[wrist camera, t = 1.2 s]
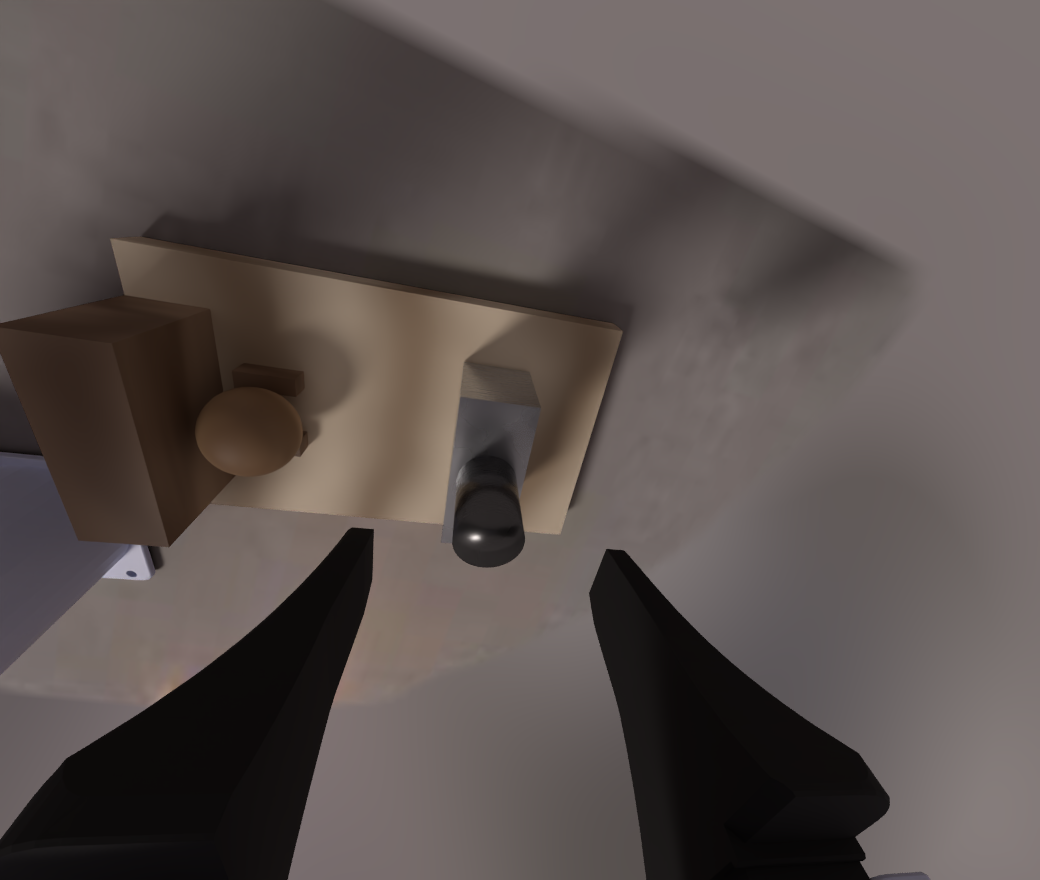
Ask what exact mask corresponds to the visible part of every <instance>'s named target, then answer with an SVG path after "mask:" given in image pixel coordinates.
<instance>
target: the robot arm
mask: <svg viewBox="0 0 1040 880" xmlns="http://www.w3.org/2000/svg"><path fill="white" fill-rule="evenodd" d="M373 538H374V529H364V528H350V529H349V530H348V531H347V532H346V533H345V535H344V536H343V537H342V539H341V540H340V541H339V542H338V544H337V545H336V546H335V547H334V548H333V550H332V551H331V552H330V553H329V554H328V556H327V557H326V558H325V559H324V560H323V561H322V562H321V564H320V565H319V566H318V567H317V568H316V569H315V570H314V571H313V572H312V573H311V574H310V575H309V577H308V578H307V579H306V580H305V581H304V582H303V583H302V584H301V585H300V586H299V587H298V588H297V589H296V590H295V591H294V592H293V593H292V594H291V595H290V596H289V597H288V598H287V599H286V600H285V601H284V602H283V603H282V604H281V605H280V606H279V607H278V608H276V609H275V610H274V611H273V612H272V613H271V614H270V615H269V616H268V617H267V618H266V619H264V620H263V621H262V622H261V623H260V624H259V625H258V626H257V627H255V628H254V629H253V630H252V631H251V632H249V633H248V634H247V635H246V636H245V637H244V638H242V639H241V640H240V641H239V642H237V643H236V644H235V645H234V646H232V647H231V648H230V649H229V650H227V651H226V652H225V653H224V654H222V655H221V656H220V657H218V658H217V659H216V660H215V661H213V662H212V663H211V664H209V665H208V666H207V667H205V668H204V669H203V670H201V671H200V672H199V673H197V674H196V675H195V676H193V677H192V678H190V679H189V680H187V681H186V682H185V683H183V684H182V685H180V686H179V687H177V688H176V689H174V690H173V691H172V692H170V693H169V694H167V695H166V696H164V697H163V698H161V699H160V700H159V701H157V702H156V703H154V704H153V705H151V706H150V707H148V708H147V709H145V710H144V711H142V712H141V713H139V714H138V715H136V716H135V717H133V718H131V719H130V720H128V721H127V722H125V723H123V724H122V725H120V726H119V727H117V728H115V729H114V730H112V731H111V732H109V733H107V734H106V735H104V736H102V737H101V738H99V739H98V740H96V741H94V742H93V743H91V744H90V745H88V746H86V747H85V748H83V749H81V750H80V751H78V752H77V753H75V754H73V755H71V756H70V757H68V758H67V759H66V760H65V761H64V762H63V763H62V764H61V766H60V767H59V768H58V769H57V770H56V771H55V772H54V774H53V775H52V776H51V777H50V778H49V779H48V780H47V781H46V782H45V783H44V784H43V786H42V787H41V788H40V789H39V790H38V792H37V793H36V794H35V795H34V796H33V798H32V799H31V800H30V801H29V803H28V804H27V806H26V807H25V808H24V809H23V811H22V812H21V813H20V814H19V816H18V817H17V818H16V820H15V821H14V822H13V824H12V825H11V826H10V828H9V829H8V830H7V831H6V833H5V834H4V835H3V837H2V838H1V839H0V880H287V879H288V875H289V871H290V867H291V863H292V858H293V854H294V850H295V846H296V842H297V838H298V833H299V829H300V825H301V821H302V817H303V813H304V809H305V805H306V801H307V797H308V793H309V789H310V785H311V781H312V777H313V773H314V769H315V765H316V761H317V758H318V754H319V750H320V746H321V742H322V739H323V735H324V731H325V727H326V723H327V720H328V716H329V712H330V709H331V706H332V703H333V699H334V696H335V693H336V690H337V687H338V685H339V682H340V679H341V676H342V673H343V671H344V668H345V665H346V662H347V660H348V657H349V654H350V651H351V648H352V646H353V643H354V640H355V637H356V635H357V632H358V629H359V626H360V623H361V620H362V618H363V615H364V611H365V607H366V603H367V599H368V595H369V591H370V587H371V582H372V571H373ZM154 574H155V568H154V565H153V562H152V559H151V555H150V552H149V549H148V546H147V545H133V544H119V543H105V542H91V541H78V539H77V536H76V534H75V531H74V529H73V527H72V524H71V522H70V519H69V517H68V515H67V512H66V510H65V507H64V505H63V503H62V500H61V498H60V495H59V493H58V491H57V488H56V486H55V483H54V481H53V479H52V476H51V474H50V471H49V469H48V467H47V464H46V462H45V459H44V457H43V456H38V455H28V454H17V453H7V452H0V675H1V674H2V673H3V672H4V671H5V670H6V669H7V668H8V667H9V666H10V665H11V664H12V663H13V662H14V661H16V660H17V659H18V658H19V657H20V656H21V655H22V654H23V653H24V652H25V651H26V650H27V649H28V648H29V647H30V646H31V645H32V644H33V643H34V642H35V641H36V640H37V639H38V638H39V637H40V636H41V635H42V634H44V633H45V632H46V631H47V630H48V629H49V628H50V627H51V626H52V625H53V624H54V623H55V622H56V621H57V620H58V619H59V618H60V617H61V616H62V615H63V614H64V613H65V612H66V611H67V610H68V609H69V608H70V607H72V606H73V605H74V604H75V603H76V602H77V601H78V600H79V599H80V598H81V597H82V596H83V595H84V594H85V593H86V592H87V591H88V590H89V589H90V588H91V587H92V586H93V585H94V584H95V583H96V582H97V581H98V580H100V579H101V578H115V579H132V580H148V579H150V578H151V577H152V576H153V575H154ZM589 595H590V602H591V609H592V615H593V620H594V625H595V628H596V633H597V636H598V640H599V643H600V647H601V650H602V653H603V657H604V660H605V663H606V666H607V670H608V674H609V677H610V680H611V683H612V687H613V690H614V694H615V697H616V701H617V705H618V708H619V713H620V717H621V722H622V727H623V732H624V738H625V742H626V747H627V753H628V759H629V764H630V770H631V775H632V781H633V787H634V793H635V800H636V807H637V813H638V820H639V826H640V833H641V840H642V849H643V857H644V864H645V872H646V880H930V878H929V877H928V876H927V875H926V874H924V873H922V872H913V873H898V874H885V875H879V876H876V877H873V878H869V877H868V875H867V873H866V872H865V870H864V868H863V867H862V865H861V863H860V861H863V860H865V859H866V857H865V853H864V851H863V849H862V848H861V846H860V844H859V843H858V841H857V840H856V838H855V837H856V836H857V835H858V834H860V833H861V832H862V831H864V830H865V829H867V828H868V827H869V826H871V825H872V824H874V823H875V822H876V821H878V820H879V819H880V818H881V817H882V816H883V815H885V814H886V812H887V811H888V809H889V806H890V798H889V796H888V794H887V793H886V792H885V790H884V789H883V787H882V786H881V784H880V783H879V782H878V780H877V779H876V777H875V776H874V774H873V773H872V772H871V770H870V769H869V767H868V766H867V765H866V763H865V762H864V760H863V759H862V757H861V756H860V755H859V753H857V752H856V751H854V750H853V749H851V748H849V747H848V746H846V745H845V744H843V743H842V742H840V741H838V740H837V739H835V738H834V737H832V736H830V735H829V734H827V733H826V732H824V731H823V730H821V729H820V728H818V727H816V726H815V725H813V724H812V723H810V722H809V721H807V720H806V719H804V718H803V717H802V716H800V715H799V714H797V713H796V712H795V711H793V710H792V709H790V708H789V707H788V706H786V705H785V704H783V703H782V702H781V701H779V700H778V699H777V698H775V697H774V696H772V695H771V694H770V693H768V692H767V691H766V690H765V689H763V688H762V687H761V686H760V685H758V684H757V683H756V682H755V681H753V680H752V679H751V678H749V677H748V676H747V675H746V674H744V673H743V672H742V671H741V670H740V669H738V668H737V667H736V666H735V665H734V664H732V663H731V662H730V661H729V660H728V659H727V658H726V657H724V656H723V655H722V654H721V653H720V652H719V651H718V650H717V649H716V648H715V647H713V646H712V645H711V644H710V643H709V642H708V641H707V640H706V639H705V638H704V637H703V636H702V635H700V633H698V631H697V630H696V629H695V628H694V627H693V626H692V625H691V624H690V623H689V622H688V621H687V620H686V619H685V618H684V617H683V616H682V615H681V614H680V613H679V612H678V611H677V610H676V609H675V608H674V607H673V605H672V604H671V603H670V602H669V601H668V600H667V599H666V598H665V597H664V595H662V594H661V592H660V591H659V590H658V589H657V588H656V586H655V585H654V584H653V583H652V582H651V581H650V580H649V578H648V577H647V576H646V575H645V574H644V573H643V571H642V570H641V569H640V568H639V567H638V566H637V564H636V563H635V562H634V561H633V560H632V559H631V558H630V556H629V555H628V554H627V553H626V552H625V551H624V550H612V549H606V551H605V554H604V556H603V559H602V562H601V564H600V567H599V569H598V572H597V574H596V577H595V580H594V582H593V585H592V587H591V590H590V592H589Z"/></svg>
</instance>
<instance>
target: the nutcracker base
mask: <svg viewBox="0 0 1040 880" xmlns="http://www.w3.org/2000/svg"><path fill="white" fill-rule="evenodd" d="M110 240H111V244H112V248H113V252H114V256H115V260H116V264H117V268H118V272H119V276H120V280H121V283H122V287H123V291H124V295H123V296H118V297H114V298H109V299H105V300H101V301H96V302H92V303H88V304H83V305H79V306H74V307H70V308H66V309H61V310H57V311H52V312H48V313H44V314H39V315H35V316H31V317H26V318H22V319H17V320H13V321H9V322H4V323H0V354H1V356H2V358H3V361H4V363H5V366H6V368H7V370H8V373H9V375H10V378H11V380H12V382H13V385H14V387H15V390H16V392H17V394H18V397H19V399H20V402H21V404H22V406H23V409H24V411H25V414H26V416H27V418H28V421H29V423H30V426H31V428H32V431H33V433H34V435H35V438H36V440H37V443H38V445H39V447H40V450H41V452H42V455H43V457H44V459H45V462H46V464H47V467H48V469H49V471H50V474H51V476H52V479H53V481H54V483H55V486H56V488H57V491H58V493H59V495H60V498H61V500H62V503H63V505H64V507H65V510H66V512H67V515H68V517H69V519H70V522H71V524H72V527H73V529H74V531H75V534H76V536H77V539H78V541H91V542H105V543H119V544H133V545H147V546H161V547H170V546H171V545H172V543H173V542H174V541H175V540H176V539H177V538H178V537H179V536H180V535H181V534H182V533H183V532H184V531H185V529H186V528H187V527H188V526H189V525H190V524H191V523H192V522H193V521H194V520H195V519H196V518H197V517H198V515H199V514H200V513H201V512H202V511H203V510H204V509H205V508H206V507H207V506H208V505H209V504H218V505H229V506H241V507H252V508H264V509H275V510H286V511H298V512H309V513H320V514H332V515H343V516H354V517H366V518H377V519H388V520H400V521H411V522H422V523H434V524H443V521H444V512H445V503H446V494H447V486H448V478H449V471H450V463H451V456H452V448H453V440H454V433H455V425H456V418H457V410H458V403H459V395H460V387H461V380H462V372H463V365H464V362H470V363H476V364H482V365H489V366H495V367H502V368H508V369H514V370H521V371H527V372H530V375H531V378H532V381H533V384H534V388H535V391H536V394H537V397H538V400H539V403H540V406H541V411H540V415H539V419H538V424H537V428H536V432H535V436H534V440H533V445H532V449H531V453H530V457H529V462H528V466H527V470H526V474H525V478H524V483H523V487H522V491H521V495H520V507H521V514H522V521H523V528H524V531H525V532H536V533H547V534H559V535H560V533H561V530H562V526H563V523H564V520H565V517H566V514H567V510H568V507H569V504H570V501H571V497H572V494H573V491H574V488H575V485H576V481H577V478H578V475H579V472H580V468H581V465H582V462H583V459H584V456H585V452H586V449H587V446H588V443H589V439H590V436H591V433H592V430H593V427H594V423H595V420H596V417H597V414H598V410H599V407H600V404H601V401H602V397H603V394H604V391H605V388H606V385H607V381H608V378H609V375H610V372H611V368H612V365H613V362H614V359H615V356H616V352H617V349H618V346H619V343H620V339H621V336H622V333H623V331H622V330H621V329H620V328H618V327H617V326H616V325H615V324H613V323H608V322H603V321H597V320H592V319H586V318H581V317H575V316H570V315H564V314H559V313H554V312H548V311H543V310H537V309H532V308H526V307H521V306H515V305H510V304H505V303H499V302H494V301H488V300H483V299H477V298H472V297H466V296H461V295H456V294H450V293H445V292H439V291H434V290H428V289H423V288H417V287H412V286H407V285H401V284H396V283H390V282H385V281H379V280H374V279H368V278H363V277H358V276H352V275H347V274H341V273H336V272H330V271H325V270H319V269H314V268H309V267H303V266H298V265H292V264H287V263H281V262H276V261H270V260H265V259H260V258H254V257H249V256H243V255H238V254H232V253H227V252H221V251H216V250H211V249H205V248H200V247H194V246H189V245H183V244H178V243H172V242H167V241H162V240H156V239H151V238H145V237H125V238H110ZM239 387H258V388H263V389H267V390H270V391H272V392H275V393H277V394H279V395H280V396H282V397H283V398H285V399H286V400H287V401H288V402H289V403H290V404H291V405H292V406H293V407H294V408H295V409H296V411H297V413H298V414H299V417H300V419H301V423H302V427H303V437H302V442H301V445H300V448H299V450H298V451H297V453H296V455H295V456H294V457H293V458H292V460H291V461H290V462H289V463H287V464H286V465H285V466H283V467H282V468H280V469H279V470H276V471H274V472H272V473H269V474H266V475H261V476H253V477H246V476H237V475H233V474H230V473H227V472H224V471H222V470H220V469H218V468H217V467H215V466H214V465H212V464H211V463H210V462H209V461H208V460H207V459H206V458H205V457H204V455H203V454H202V453H201V451H200V449H199V447H198V445H197V441H196V437H195V425H196V421H197V418H198V415H199V413H200V411H201V410H202V409H203V407H204V406H205V405H206V404H207V403H208V402H209V401H210V400H211V399H212V398H213V397H215V396H216V395H218V394H220V393H222V392H224V391H227V390H230V389H234V388H239Z"/></svg>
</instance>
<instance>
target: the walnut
mask: <svg viewBox="0 0 1040 880" xmlns="http://www.w3.org/2000/svg"><path fill="white" fill-rule="evenodd" d="M195 437H196V441H197V445H198V447H199V449H200V451H201V453H202V454H203V455H204V457H205V458H206V459H207V460H208V461H209V462H210V463H211V464H212V465H214V466H215V467H217V468H218V469H220V470H222V471H224V472H227V473H230V474H233V475H237V476H246V477H253V476H261V475H266V474H269V473H272V472H274V471H276V470H279V469H280V468H282V467H283V466H285V465H286V464H287V463H289V462H290V461H291V460H292V458H293V457H294V456H295V455H296V453H297V451H298V450H299V448H300V445H301V442H302V437H303V427H302V423H301V419H300V417H299V414H298V413H297V411H296V409H295V408H294V407H293V406H292V405H291V404H290V403H289V402H288V401H287V400H286V399H285V398H283V397H282V396H280V395H279V394H277V393H275V392H272V391H270V390H267V389H263V388H258V387H239V388H234V389H230V390H227V391H224V392H222V393H220V394H218V395H216V396H215V397H213V398H212V399H211V400H210V401H209V402H208V403H207V404H206V405H205V406H204V407H203V409H202V410H201V411H200V413H199V415H198V418H197V421H196V425H195Z"/></svg>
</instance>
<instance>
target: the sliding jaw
mask: <svg viewBox="0 0 1040 880" xmlns="http://www.w3.org/2000/svg"><path fill="white" fill-rule="evenodd" d="M540 411H541V406H540V403H539V400H538V397H537V394H536V391H535V388H534V384H533V381H532V378H531V375H530V372H527V371H521V370H514V369H508V368H502V367H495V366H489V365H482V364H476V363H470V362H464V365H463V372H462V380H461V387H460V395H459V403H458V410H457V418H456V425H455V433H454V440H453V448H452V456H451V463H450V471H449V478H448V486H447V494H446V503H445V512H444V521H443V529H442V538H441V542H442V543H452V545H453V549H454V551H455V553H456V554H457V555H458V556H459V558H461V559H462V560H463V561H465V562H466V563H468V564H471V565H474V566H477V567H497V566H501V565H503V564H506V563H508V562H510V561H511V560H513V559H514V558H516V557H517V556H518V555H519V553H520V552H521V550H522V549H523V546H524V543H525V535H524V528H523V521H522V514H521V507H520V495H521V491H522V487H523V483H524V478H525V474H526V470H527V466H528V462H529V457H530V453H531V449H532V445H533V440H534V436H535V432H536V428H537V424H538V419H539V415H540Z"/></svg>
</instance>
